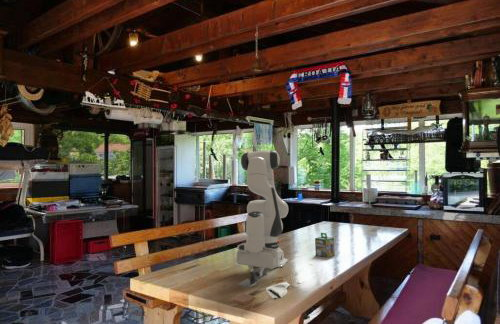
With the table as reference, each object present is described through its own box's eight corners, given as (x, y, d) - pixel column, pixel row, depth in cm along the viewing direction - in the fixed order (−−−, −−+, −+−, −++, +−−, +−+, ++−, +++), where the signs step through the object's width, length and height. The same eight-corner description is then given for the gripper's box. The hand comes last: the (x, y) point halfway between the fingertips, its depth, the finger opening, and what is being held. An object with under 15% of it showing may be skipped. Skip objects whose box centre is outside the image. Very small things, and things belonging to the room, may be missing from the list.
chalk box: (335, 255, 232) (334, 232, 232) (326, 257, 226) (325, 234, 226) (323, 252, 239) (323, 230, 239) (315, 255, 233) (314, 232, 233)
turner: (258, 273, 176) (258, 265, 176) (269, 275, 173) (269, 267, 173) (237, 285, 159) (237, 276, 159) (249, 287, 156) (249, 278, 156)
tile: (241, 293, 162) (231, 299, 155) (254, 296, 159) (245, 302, 152) (241, 296, 162) (231, 303, 155) (254, 299, 159) (245, 306, 152)
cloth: (277, 281, 183) (277, 277, 183) (302, 285, 176) (302, 281, 176) (252, 297, 161) (252, 292, 161) (279, 303, 154) (279, 298, 154)
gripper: (278, 247, 165) (278, 276, 165) (241, 243, 176) (241, 270, 176) (272, 250, 160) (273, 280, 160) (234, 245, 170) (235, 274, 170)
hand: (256, 275), depth 168 cm, fingers closed on turner, 2 cm apart
